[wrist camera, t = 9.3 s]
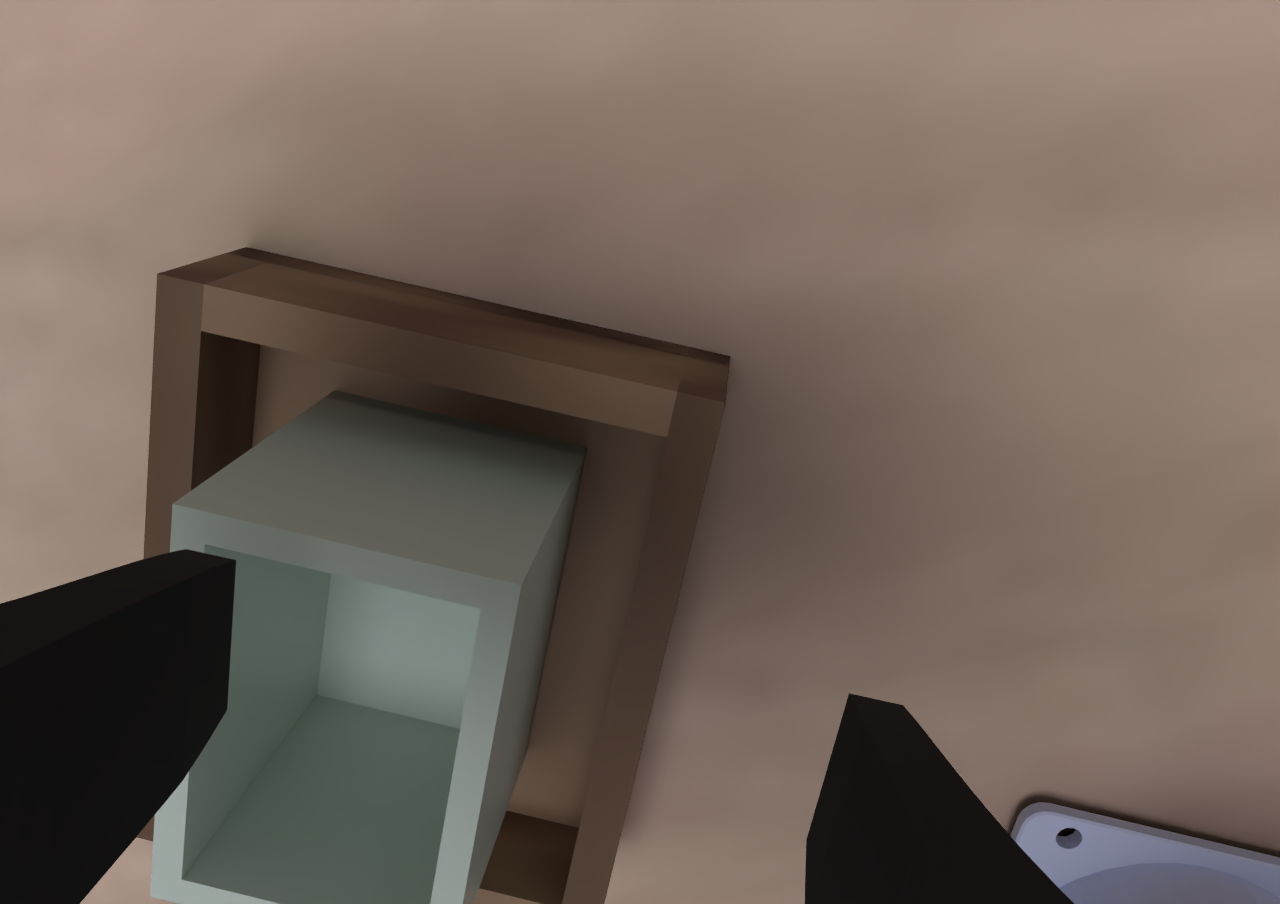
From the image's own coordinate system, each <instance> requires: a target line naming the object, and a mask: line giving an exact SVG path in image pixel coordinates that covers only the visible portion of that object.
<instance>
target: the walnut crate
mask: <svg viewBox="0 0 1280 904" xmlns="http://www.w3.org/2000/svg"><path fill="white" fill-rule="evenodd" d="M729 363H730V356H725V355H721V354H717V353H712V352H708V351H703V350H699V349H694V348H690V347H686V346H681V345H677V344H672V343H668V342H663V341H659V340H655V339H650V338H646V337H641V336H637V335H632V334H628V333H623V332H619V331H615V330H610V329H606V328H601V327H597V326H592V325H588V324H584V323H579V322H575V321H570V320H566V319H561V318H557V317H552V316H548V315H544V314H539V313H535V312H530V311H526V310H521V309H517V308H513V307H508V306H504V305H499V304H495V303H490V302H486V301H481V300H477V299H473V298H468V297H464V296H459V295H455V294H450V293H446V292H442V291H437V290H433V289H428V288H424V287H419V286H415V285H411V284H406V283H402V282H397V281H393V280H388V279H384V278H379V277H375V276H371V275H366V274H362V273H357V272H353V271H348V270H344V269H340V268H335V267H331V266H326V265H322V264H317V263H313V262H308V261H304V260H300V259H295V258H291V257H286V256H282V255H277V254H273V253H269V252H264V251H260V250H255V249H251V248H246V247H245V248H242V249H239V250H235V251H232V252H229V253H225V254H222V255H219V256H215V257H212V258H209V259H205V260H202V261H199V262H195V263H192V264H189V265H185V266H182V267H178V268H175V269H172V270H168V271H165V272H162V273H158V274H157V292H156V313H155V334H154V354H153V375H152V396H151V417H150V437H149V458H148V479H147V500H146V520H145V541H144V559H147V558H150V557H154V556H157V555H161V554H165V553H169V552H170V539H171V521H172V504H173V503H174V502H176V501H177V500H179V499H180V498H182V497H183V496H184V495H186V494H187V493H189V492H190V491H192V490H193V489H194V488H196V487H197V486H199V485H200V484H202V483H203V482H204V481H206V480H207V479H209V478H210V477H212V476H213V475H214V474H216V473H217V472H219V471H220V470H222V469H223V468H224V467H226V466H227V465H229V464H230V463H232V462H233V461H234V460H236V459H237V458H239V457H240V456H242V455H243V454H244V453H246V452H247V451H249V450H250V449H252V448H253V447H254V446H256V445H257V444H259V443H260V442H262V441H263V440H264V439H266V438H267V437H269V436H270V435H271V434H273V433H274V432H276V431H277V430H279V429H280V428H281V427H283V426H284V425H286V424H287V423H289V422H290V421H291V420H293V419H294V418H296V417H297V416H299V415H300V414H301V413H303V412H304V411H306V410H307V409H309V408H310V407H311V406H313V405H314V404H316V403H317V402H319V401H320V400H321V399H323V398H324V397H326V396H327V395H329V394H330V393H331V392H333V391H334V390H337V391H341V392H345V393H350V394H354V395H359V396H363V397H367V398H372V399H376V400H380V401H385V402H389V403H393V404H398V405H402V406H407V407H411V408H415V409H420V410H424V411H428V412H433V413H437V414H442V415H446V416H450V417H455V418H459V419H463V420H468V421H472V422H476V423H481V424H485V425H490V426H494V427H498V428H503V429H507V430H511V431H516V432H520V433H524V434H529V435H533V436H538V437H542V438H546V439H551V440H555V441H559V442H564V443H568V444H573V445H577V446H581V447H586V448H587V452H586V457H585V462H584V467H583V472H582V478H581V483H580V488H579V493H578V498H577V503H576V508H575V513H574V518H573V523H572V528H571V533H570V538H569V543H568V548H567V553H566V558H565V563H564V568H563V573H562V578H561V583H560V588H559V593H558V599H557V604H556V609H555V614H554V619H553V624H552V629H551V634H550V639H549V644H548V649H547V654H546V659H545V664H544V669H543V674H542V679H541V684H540V689H539V694H538V699H537V704H536V709H535V714H534V720H533V725H532V730H531V735H530V740H529V745H528V750H527V753H526V756H525V759H524V762H523V764H522V767H521V770H520V773H519V776H518V779H517V782H516V784H515V787H514V790H513V793H512V796H511V799H510V802H509V804H508V807H507V810H506V813H505V816H504V819H503V822H502V824H501V827H500V830H499V833H498V836H497V839H496V842H495V844H494V847H493V850H492V853H491V856H490V859H489V862H488V864H487V867H486V870H485V873H484V876H483V879H482V882H481V884H480V887H479V890H478V893H477V896H476V899H475V902H474V904H604V902H605V898H606V894H607V889H608V885H609V881H610V877H611V873H612V869H613V865H614V861H615V856H616V852H617V848H618V844H619V840H620V836H621V832H622V828H623V823H624V819H625V815H626V811H627V807H628V803H629V799H630V795H631V790H632V786H633V782H634V778H635V774H636V770H637V766H638V762H639V757H640V753H641V749H642V745H643V741H644V737H645V733H646V729H647V724H648V720H649V716H650V712H651V708H652V704H653V700H654V695H655V691H656V687H657V683H658V679H659V675H660V671H661V667H662V662H663V658H664V654H665V650H666V646H667V642H668V638H669V634H670V629H671V625H672V621H673V617H674V613H675V609H676V605H677V601H678V596H679V592H680V588H681V584H682V580H683V576H684V572H685V568H686V563H687V559H688V555H689V551H690V547H691V543H692V539H693V534H694V530H695V526H696V522H697V518H698V514H699V510H700V506H701V501H702V497H703V493H704V489H705V485H706V481H707V477H708V473H709V468H710V464H711V460H712V456H713V452H714V448H715V444H716V440H717V435H718V431H719V427H720V423H721V419H722V415H723V411H724V407H725V402H726V392H727V382H728V373H729ZM154 819H155V815H154V816H153V817H152V819H151V820H150V821H149V822H148V823H147V825H146V826H145V827H144V828H143V829H142V831H141V832H140V833H139V834H138V835H137V837H138V838H142V839H146V840H150V841H153V836H154Z"/></svg>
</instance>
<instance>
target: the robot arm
mask: <svg viewBox="0 0 1280 904" xmlns="http://www.w3.org/2000/svg"><path fill="white" fill-rule="evenodd" d="M235 573H236V560H234V559H229V558H225V557H220V556H215V555H211V554H206V553H202V552H197V551H193V550H188V549H184V550H179V551H174V552H169V553H165V554H161V555H157V556H154V557H150V558H147V559H143V560H140V561H136V562H133V563H130V564H127V565H123V566H120V567H117V568H114V569H111V570H107V571H104V572H101V573H98V574H95V575H92V576H89V577H86V578H82V579H79V580H76V581H73V582H70V583H67V584H63V585H60V586H57V587H54V588H51V589H48V590H44V591H41V592H38V593H35V594H32V595H29V596H26V597H22V598H19V599H16V600H12V601H9V602H5V603H1V604H0V904H80V902H81V901H82V900H83V899H84V898H85V897H86V895H87V894H88V893H89V892H90V891H91V889H92V888H93V887H94V886H95V885H96V884H97V882H98V881H99V880H100V879H101V878H102V877H103V875H104V874H105V873H106V872H107V871H108V869H109V868H110V867H111V866H112V865H113V864H114V862H115V861H116V860H117V859H118V858H119V857H120V855H121V854H122V853H123V852H124V851H125V850H126V848H127V847H128V846H129V845H130V844H131V842H132V841H133V840H134V839H135V838H136V837H137V835H138V834H139V833H140V832H141V831H142V829H143V828H144V827H145V826H146V825H147V823H148V822H149V821H150V820H151V819H152V817H153V816H154V815H155V814H156V813H157V811H158V810H159V809H160V808H161V807H162V805H163V804H164V803H165V802H166V801H167V799H168V798H169V797H170V796H171V795H172V793H173V792H174V791H175V790H176V788H177V787H178V786H179V785H180V783H181V782H182V781H183V780H184V778H185V777H186V775H187V774H188V772H189V770H190V769H191V767H192V766H193V764H194V763H195V761H196V760H197V758H198V757H199V755H200V754H201V752H202V751H203V749H204V747H205V746H206V744H207V743H208V741H209V739H210V738H211V736H212V734H213V733H214V731H215V729H216V728H217V726H218V724H219V723H220V721H221V719H222V718H223V716H224V714H225V713H226V711H227V705H228V689H229V672H230V655H231V639H232V622H233V606H234V589H235ZM1065 828H1074V829H1076V830H1075V831H1074V833H1073V834H1071V835H1068V836H1058V835H1057V834H1058V833H1059V832H1060V831H1061V830H1063V829H1065ZM805 904H1280V857H1275V856H1271V855H1267V854H1263V853H1258V852H1254V851H1250V850H1246V849H1242V848H1237V847H1233V846H1229V845H1225V844H1221V843H1216V842H1212V841H1208V840H1204V839H1199V838H1195V837H1191V836H1187V835H1183V834H1178V833H1174V832H1170V831H1166V830H1161V829H1157V828H1153V827H1149V826H1145V825H1140V824H1136V823H1132V822H1128V821H1123V820H1119V819H1115V818H1111V817H1107V816H1102V815H1098V814H1094V813H1090V812H1085V811H1081V810H1077V809H1073V808H1069V807H1064V806H1060V805H1056V804H1052V803H1044V802H1038V803H1034V804H1030V805H1029V806H1027V807H1026V808H1024V809H1023V810H1022V811H1021V813H1020V814H1019V816H1018V818H1017V820H1016V823H1015V825H1014V828H1013V830H1012V833H1011V835H1009V834H1008V833H1007V832H1006V831H1005V829H1004V828H1003V827H1002V826H1001V825H1000V824H999V823H998V821H997V820H996V819H995V818H994V817H993V816H992V814H991V813H990V812H989V811H988V810H987V809H986V807H985V806H984V805H983V804H982V802H981V801H980V800H979V799H978V798H977V796H976V795H975V794H974V793H973V792H972V790H971V789H970V788H969V787H968V785H967V784H966V783H965V782H964V781H963V779H962V778H961V777H960V776H959V774H958V773H957V772H956V771H955V769H954V768H953V767H952V766H951V764H950V763H949V762H948V760H947V759H946V758H945V757H944V755H943V754H942V753H941V752H940V750H939V749H938V748H937V747H936V745H935V744H934V743H933V741H932V740H931V739H930V738H929V736H928V735H927V734H926V733H925V731H924V730H923V729H922V728H921V726H920V725H919V724H918V723H917V721H916V720H915V719H914V718H913V716H912V715H911V714H910V713H909V712H908V711H907V710H906V708H905V707H904V706H903V705H899V704H895V703H890V702H885V701H881V700H876V699H872V698H867V697H862V696H858V695H853V694H849V696H848V699H847V703H846V706H845V710H844V713H843V717H842V720H841V723H840V727H839V730H838V734H837V737H836V741H835V744H834V747H833V751H832V754H831V758H830V761H829V765H828V768H827V772H826V775H825V778H824V782H823V785H822V789H821V792H820V796H819V799H818V803H817V806H816V809H815V813H814V816H813V820H812V823H811V827H810V830H809V833H808V837H807V845H806V877H805Z"/></svg>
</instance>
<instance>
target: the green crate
mask: <svg viewBox="0 0 1280 904" xmlns="http://www.w3.org/2000/svg"><path fill="white" fill-rule="evenodd" d="M586 452H587V448H586V447H581V446H577V445H573V444H568V443H564V442H559V441H555V440H551V439H546V438H542V437H538V436H533V435H529V434H524V433H520V432H516V431H511V430H507V429H503V428H498V427H494V426H490V425H485V424H481V423H476V422H472V421H468V420H463V419H459V418H455V417H450V416H446V415H442V414H437V413H433V412H428V411H424V410H420V409H415V408H411V407H407V406H402V405H398V404H393V403H389V402H385V401H380V400H376V399H372V398H367V397H363V396H359V395H354V394H350V393H345V392H341V391H337V390H334V391H333V392H331V393H330V394H329V395H327V396H326V397H324V398H323V399H321V400H320V401H319V402H317V403H316V404H314V405H313V406H311V407H310V408H309V409H307V410H306V411H304V412H303V413H301V414H300V415H299V416H297V417H296V418H294V419H293V420H291V421H290V422H289V423H287V424H286V425H284V426H283V427H281V428H280V429H279V430H277V431H276V432H274V433H273V434H271V435H270V436H269V437H267V438H266V439H264V440H263V441H262V442H260V443H259V444H257V445H256V446H254V447H253V448H252V449H250V450H249V451H247V452H246V453H244V454H243V455H242V456H240V457H239V458H237V459H236V460H234V461H233V462H232V463H230V464H229V465H227V466H226V467H224V468H223V469H222V470H220V471H219V472H217V473H216V474H214V475H213V476H212V477H210V478H209V479H207V480H206V481H204V482H203V483H202V484H200V485H199V486H197V487H196V488H194V489H193V490H192V491H190V492H189V493H187V494H186V495H184V496H183V497H182V498H180V499H179V500H177V501H176V502H174V503H173V504H172V521H171V539H170V552H174V551H179V550H184V549H188V550H193V551H197V552H202V553H206V554H211V555H215V556H220V557H225V558H229V559H234V560H236V573H235V589H234V606H233V622H232V639H231V655H230V672H229V689H228V705H227V711H226V713H225V714H224V716H223V718H222V719H221V721H220V723H219V724H218V726H217V728H216V729H215V731H214V733H213V734H212V736H211V738H210V739H209V741H208V743H207V744H206V746H205V747H204V749H203V751H202V752H201V754H200V755H199V757H198V758H197V760H196V761H195V763H194V764H193V766H192V767H191V769H190V770H189V772H188V774H187V775H186V777H185V778H184V780H183V781H182V782H181V783H180V785H179V786H178V787H177V788H176V790H175V791H174V792H173V793H172V795H171V796H170V797H169V798H168V799H167V801H166V802H165V803H164V804H163V805H162V807H161V808H160V809H159V810H158V811H157V813H156V814H155V819H154V836H153V854H152V871H151V889H150V897H154V898H158V899H162V900H166V901H170V902H174V903H178V904H474V902H475V899H476V896H477V893H478V890H479V887H480V884H481V882H482V879H483V876H484V873H485V870H486V867H487V864H488V862H489V859H490V856H491V853H492V850H493V847H494V844H495V842H496V839H497V836H498V833H499V830H500V827H501V824H502V822H503V819H504V816H505V813H506V810H507V807H508V804H509V802H510V799H511V796H512V793H513V790H514V787H515V784H516V782H517V779H518V776H519V773H520V770H521V767H522V764H523V762H524V759H525V756H526V753H527V750H528V745H529V740H530V735H531V730H532V725H533V720H534V714H535V709H536V704H537V699H538V694H539V689H540V684H541V679H542V674H543V669H544V664H545V659H546V654H547V649H548V644H549V639H550V634H551V629H552V624H553V619H554V614H555V609H556V604H557V599H558V593H559V588H560V583H561V578H562V573H563V568H564V563H565V558H566V553H567V548H568V543H569V538H570V533H571V528H572V523H573V518H574V513H575V508H576V503H577V498H578V493H579V488H580V483H581V478H582V472H583V467H584V462H585V457H586Z"/></svg>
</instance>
